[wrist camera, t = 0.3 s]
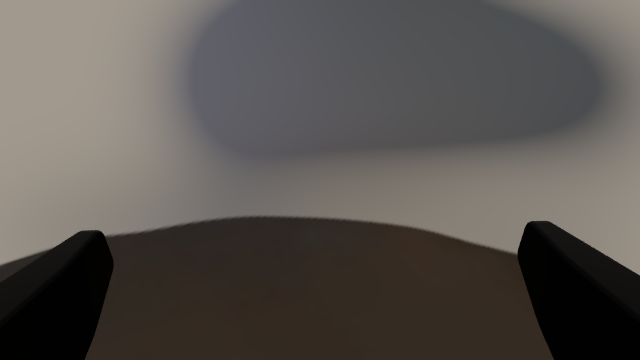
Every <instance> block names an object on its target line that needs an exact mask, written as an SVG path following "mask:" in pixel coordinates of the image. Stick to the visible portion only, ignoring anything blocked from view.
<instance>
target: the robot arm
mask: <svg viewBox="0 0 640 360" xmlns="http://www.w3.org/2000/svg"><path fill="white" fill-rule="evenodd" d="M518 261H519V265H520V268H521V271H522V274H523V277H524V281H525V284H526V287H527V290H528V293H529V296H530V299H531V303H532V306H533V309H534V312H535V315H536V318H537V321H538V324H539V326H540V329H541V331H542V333H543V336H544V338H545V340H546V342H547V345H548V347H549V349H550V351H551V354H552V356H553V358H554V360H640V275H638V274H636V273H635V272H633V271H631V270H630V269H628V268H626V267H625V266H623V265H621V264H619V263H618V262H616V261H614V260H613V259H611V258H610V257H608V256H606V255H604V254H603V253H601V252H600V251H598V250H596V249H595V248H593V247H591V246H590V245H588V244H586V243H584V242H583V241H581V240H579V239H578V238H576V237H574V236H573V235H571V234H569V233H568V232H566V231H564V230H563V229H561V228H559V227H558V226H556V225H554V224H553V223H551V222H549V221H531V222H529V223H527V225H526V227H525V229H524V233H523V236H522V239H521V242H520V245H519V248H518ZM113 266H114V262H113V257H112V255H111V252H110V249H109V246H108V244H107V241H106V238H105V236H104V234H103V233H102V232H101V231H98V230H90V231H89V230H88V231H80V232H78V233H76V234H75V235H73V236H72V237H70V238H68V239H67V240H65V241H64V242H62V243H61V244H59V245H58V246H56V247H54V248H53V249H51V250H50V251H48V252H47V253H45V254H44V255H42V256H40V257H39V258H37V259H36V260H34V261H33V262H31V263H30V264H28V265H26V266H25V267H23V268H22V269H20V270H19V271H17V272H15V273H14V274H12V275H11V276H9V277H8V278H6V279H5V280H3V281H1V282H0V360H85V357H86V355H87V352H88V350H89V347H90V345H91V342H92V340H93V337H94V334H95V331H96V328H97V325H98V321H99V318H100V314H101V311H102V307H103V304H104V300H105V297H106V293H107V289H108V286H109V282H110V279H111V275H112V272H113Z"/></svg>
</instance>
